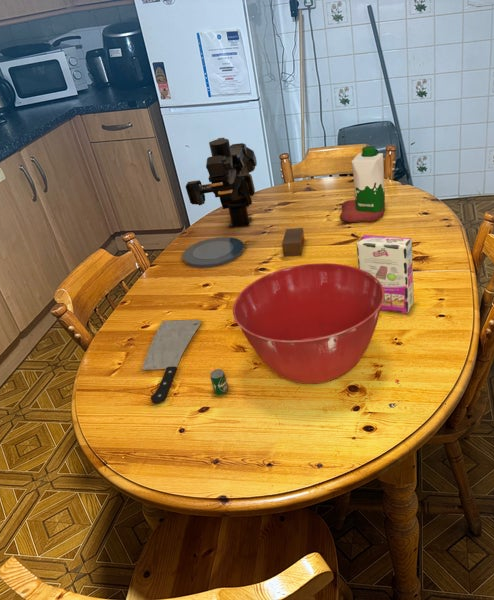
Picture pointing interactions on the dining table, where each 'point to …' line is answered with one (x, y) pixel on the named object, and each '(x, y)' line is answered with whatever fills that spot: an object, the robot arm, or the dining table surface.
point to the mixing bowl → (310, 319)
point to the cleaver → (169, 351)
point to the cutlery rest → (293, 242)
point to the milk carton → (369, 180)
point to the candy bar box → (389, 268)
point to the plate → (213, 252)
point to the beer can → (219, 382)
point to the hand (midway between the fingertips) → (215, 201)
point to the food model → (358, 213)
